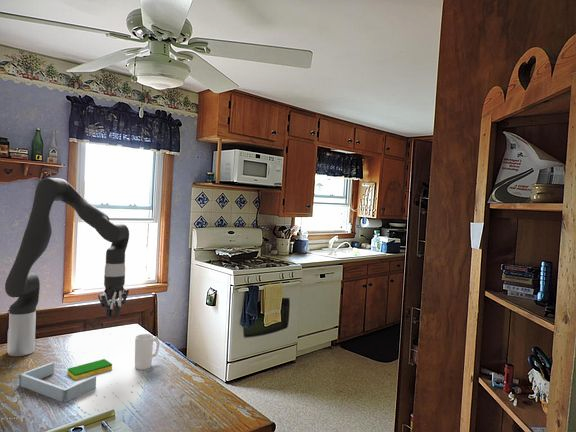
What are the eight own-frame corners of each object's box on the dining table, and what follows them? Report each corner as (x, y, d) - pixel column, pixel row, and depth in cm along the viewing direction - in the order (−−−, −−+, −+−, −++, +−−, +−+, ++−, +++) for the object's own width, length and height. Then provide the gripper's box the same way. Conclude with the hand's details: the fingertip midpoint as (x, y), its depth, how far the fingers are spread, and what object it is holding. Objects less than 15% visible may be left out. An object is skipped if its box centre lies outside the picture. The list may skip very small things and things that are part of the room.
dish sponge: (112, 370, 155) (112, 364, 155) (74, 381, 144) (75, 374, 144) (104, 364, 159) (104, 358, 159) (67, 374, 149) (67, 368, 149)
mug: (139, 371, 154) (140, 341, 153) (131, 366, 158) (132, 336, 158) (162, 364, 161) (164, 335, 161) (154, 359, 166) (155, 331, 165)
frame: (19, 385, 138) (19, 374, 138) (51, 372, 149) (52, 362, 149) (64, 402, 129) (64, 390, 128) (95, 387, 140) (96, 376, 139)
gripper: (121, 270, 166) (120, 311, 167) (93, 275, 153) (91, 319, 154) (135, 272, 163) (133, 314, 164) (107, 277, 150) (105, 322, 151)
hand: (113, 316), depth 159 cm, fingers open, 3 cm apart
